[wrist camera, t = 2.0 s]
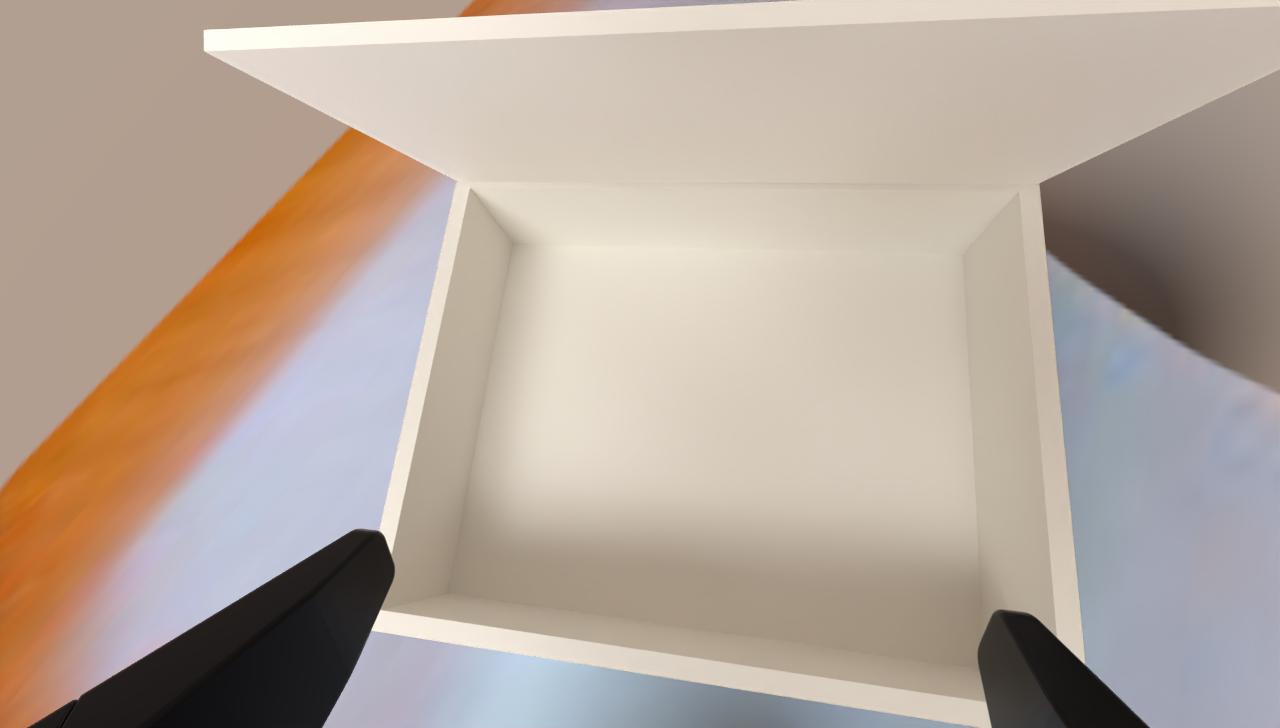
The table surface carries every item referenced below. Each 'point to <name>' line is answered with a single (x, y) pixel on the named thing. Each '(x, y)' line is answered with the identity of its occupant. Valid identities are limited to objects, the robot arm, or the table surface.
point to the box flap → (770, 86)
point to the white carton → (738, 436)
